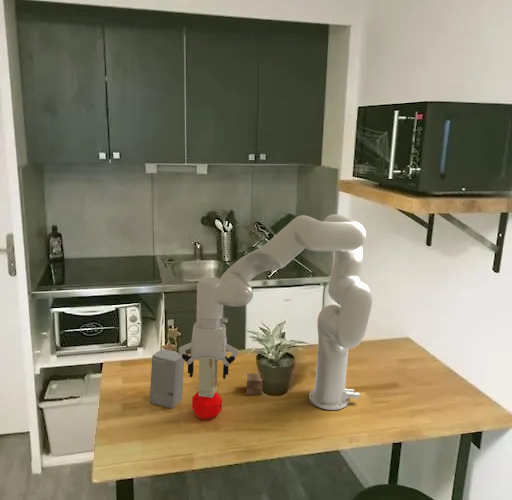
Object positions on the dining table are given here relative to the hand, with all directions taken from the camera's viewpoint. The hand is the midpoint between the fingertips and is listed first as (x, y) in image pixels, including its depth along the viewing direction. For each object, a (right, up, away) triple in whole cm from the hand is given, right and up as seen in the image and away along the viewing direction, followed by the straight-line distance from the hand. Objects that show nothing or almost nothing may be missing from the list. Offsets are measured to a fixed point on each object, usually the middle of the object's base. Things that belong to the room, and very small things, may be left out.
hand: (208, 375), depth 153 cm
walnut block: (+13, -9, +19) cm, 25 cm away
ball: (-1, -13, +3) cm, 13 cm away
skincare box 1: (-14, -10, +10) cm, 20 cm away
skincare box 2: (0, -5, +1) cm, 6 cm away
